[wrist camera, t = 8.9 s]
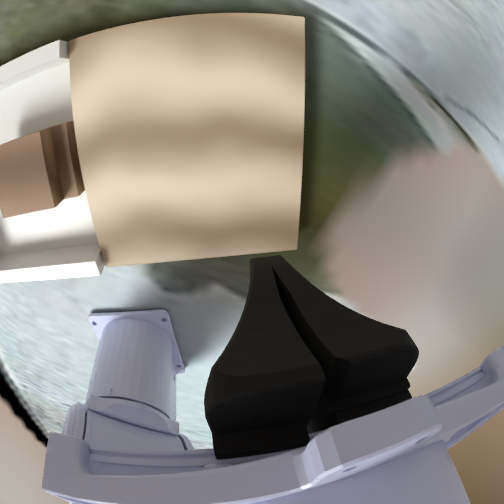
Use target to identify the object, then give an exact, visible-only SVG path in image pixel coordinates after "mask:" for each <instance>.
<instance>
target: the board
mask: <svg viewBox="0 0 504 504" xmlns="http://www.w3.org/2000/svg"><path fill="white" fill-rule="evenodd" d="M69 67H70V87H71V100H72V111H73V120H74V128H75V136H76V143H77V149H78V155H79V161H80V167H81V172H82V177H83V182H84V187H85V192H86V196H87V201H88V205H89V209H90V213H91V217H92V221H93V225H94V229H95V232H96V236H97V239H98V243H99V246H100V250H101V253H102V256H103V260H104V263H105V266H106V267H115V266H126V265H137V264H148V263H159V262H169V261H180V260H191V259H202V258H213V257H224V256H235V255H245V254H256V253H267V252H278V251H288V250H297V244H298V231H299V217H300V201H301V184H302V165H303V141H304V109H305V17H300V16H290V15H279V14H263V13H211V14H196V15H184V16H175V17H167V18H160V19H154V20H148V21H142V22H137V23H132V24H127V25H122V26H118V27H114V28H110V29H106V30H102V31H98V32H95V33H91V34H88V35H85V36H81V37H78V38H75V39H72V40H69Z"/></svg>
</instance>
